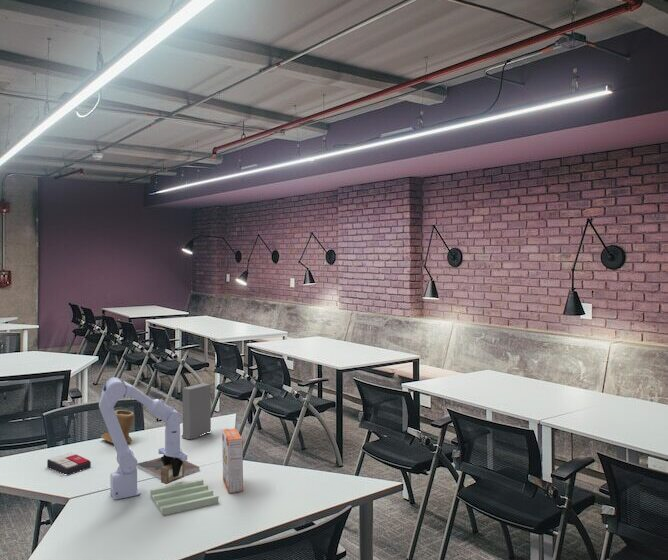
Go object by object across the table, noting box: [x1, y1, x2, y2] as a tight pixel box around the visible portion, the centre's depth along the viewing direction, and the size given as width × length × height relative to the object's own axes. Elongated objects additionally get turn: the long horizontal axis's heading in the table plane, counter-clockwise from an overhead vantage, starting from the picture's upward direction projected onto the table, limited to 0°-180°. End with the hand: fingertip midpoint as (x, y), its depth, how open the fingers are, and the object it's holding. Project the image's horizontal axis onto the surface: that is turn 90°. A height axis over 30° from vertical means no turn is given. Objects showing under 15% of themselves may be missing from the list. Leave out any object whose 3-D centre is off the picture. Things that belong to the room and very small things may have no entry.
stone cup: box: [100, 409, 135, 444], centre depth 279 cm, size 15×12×15 cm
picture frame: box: [137, 457, 200, 481], centre depth 244 cm, size 16×2×22 cm
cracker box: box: [221, 428, 244, 494], centre depth 226 cm, size 14×6×21 cm, turn 20°
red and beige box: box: [46, 452, 92, 475], centre depth 245 cm, size 11×4×15 cm
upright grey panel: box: [181, 382, 212, 440], centre depth 288 cm, size 14×6×25 cm, turn 145°
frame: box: [160, 462, 185, 485], centre depth 226 cm, size 9×3×6 cm, turn 146°
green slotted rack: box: [149, 479, 219, 516], centre depth 214 cm, size 20×18×2 cm
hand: (172, 475), depth 226 cm, fingers closed on frame, 3 cm apart
